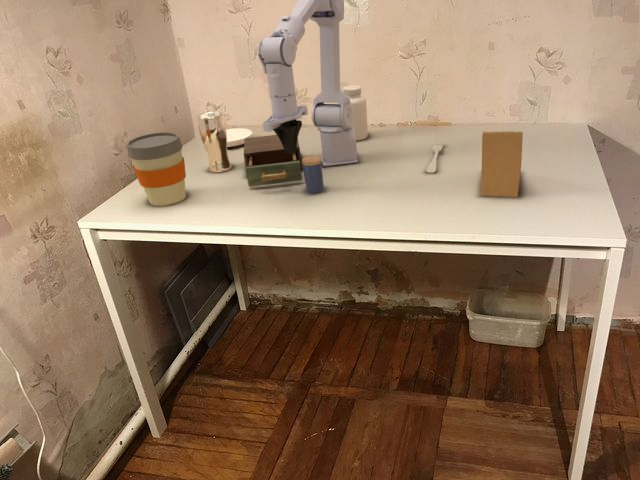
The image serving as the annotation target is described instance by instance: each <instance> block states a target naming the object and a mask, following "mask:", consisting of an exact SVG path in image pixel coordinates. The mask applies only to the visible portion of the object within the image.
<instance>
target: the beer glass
mask: <svg viewBox="0 0 640 480" xmlns="http://www.w3.org/2000/svg"><path fill="white" fill-rule="evenodd" d="M197 123H198V124H197V125H198V129H199V135H200V139H201V141H202V144H203V147H204V149H205V151H206V154H207V157H208V169H209V172H211V173H222V172H226V171H229V170H231V169H232V164H231V161H230V158H229V153H228V152H229V151H228V147H227V132H226V130H227V127H226V122H225V119H224V114H223V112H222V111H207V112H206V111H205V112H202V113H200V114H198V115H197Z"/></svg>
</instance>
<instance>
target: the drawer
mask: <svg viewBox="0 0 640 480" xmlns="http://www.w3.org/2000/svg"><path fill="white" fill-rule="evenodd" d="M245 173H246V178H247V184H248V185H247V186H248V187H257V186H264V185H272V184H274V185H275V184H281V183H289V182H297V181H303V177H302V171H301V168H300V161H297V160H296V154H295V153H294V154H286V153H285V152H277V153H269V154H260V155H252V156H249V167H246V166H245Z"/></svg>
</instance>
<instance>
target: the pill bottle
mask: <svg viewBox="0 0 640 480" xmlns="http://www.w3.org/2000/svg"><path fill="white" fill-rule="evenodd" d="M342 93H344V94H345V95H346V96H347V97H348V98H349V99H350V101H351V109H352V113H353V118H352V123H351V125H350V126H349V127H354V130H355V136H356V142H358V141H362V140H366V139H367V138H368V136H369V129H368V128H369V127H368V110H367V109H368V108H367V99H366V97H365V96H363V95H362V87H361V86H360V85H347V86H343V88H342Z"/></svg>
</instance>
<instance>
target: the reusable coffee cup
mask: <svg viewBox="0 0 640 480" xmlns="http://www.w3.org/2000/svg"><path fill="white" fill-rule="evenodd" d="M182 149H183V144H182V141H181V139H180V136H179V134H178V133H175V132H171V131H165V132H164V131H163V132H162V131H161V132H151V133H147V134H143V135H139V136H136V137H134V138H131V139H129V140H128V141H127V142H126V151H127V154H128V158H129V159H130V160H131V162H132V165H133V166H132V169H133V171H134V174H135V176H136V178H137V181H138V183H139V185H140V186H141V187H142V188H143V190H144V192H145V195H146V197H147V199H148V202H149V204H150V205H152V206H157V207H160V206H161V207H163V206H169V205H170V206H171V205H174V204H177V203H179V202H182V201H183V200H185V199H186V197H187V191H186V180H185V179H186V176H187V173H186V165H185V158H184V156H183V150H182Z"/></svg>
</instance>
